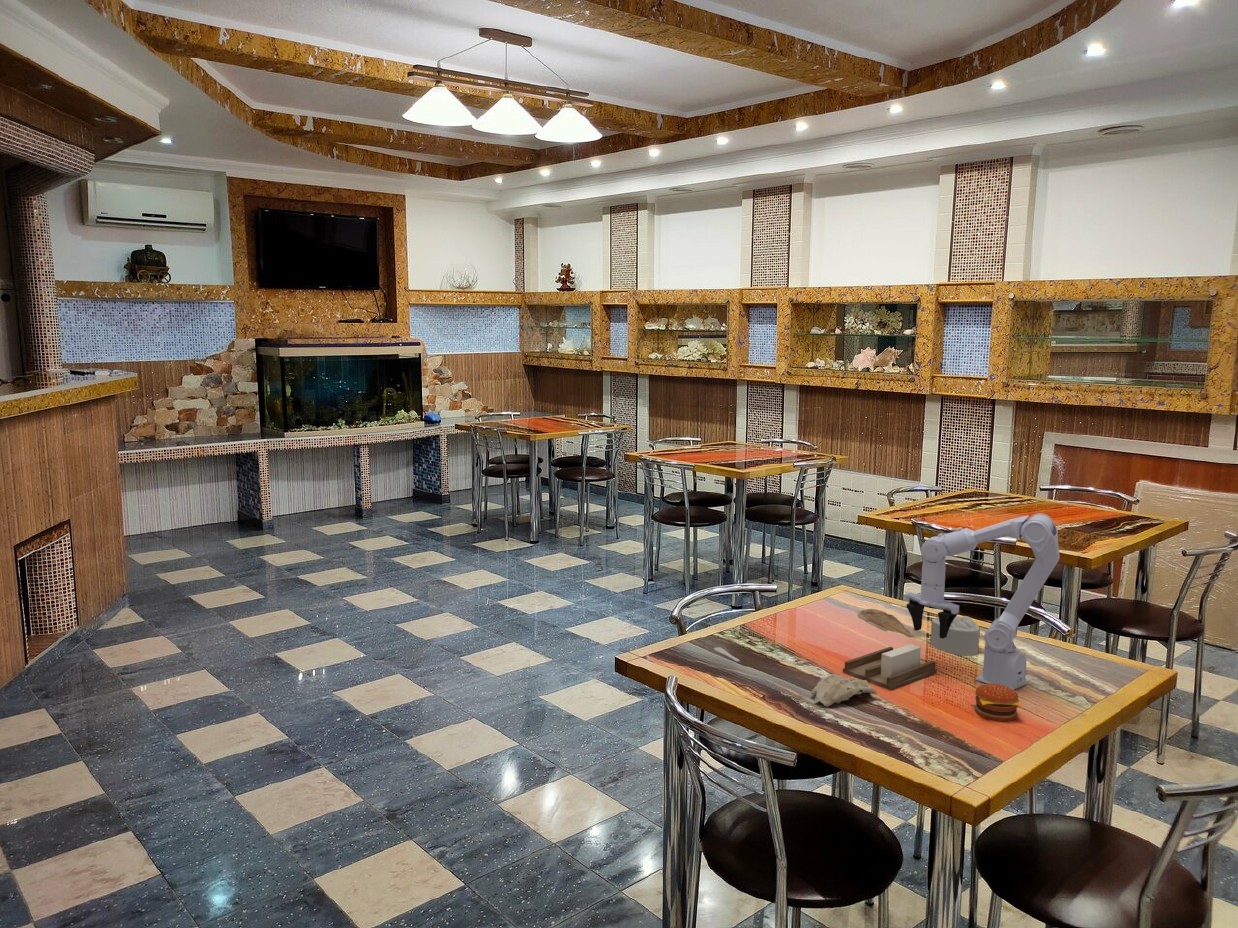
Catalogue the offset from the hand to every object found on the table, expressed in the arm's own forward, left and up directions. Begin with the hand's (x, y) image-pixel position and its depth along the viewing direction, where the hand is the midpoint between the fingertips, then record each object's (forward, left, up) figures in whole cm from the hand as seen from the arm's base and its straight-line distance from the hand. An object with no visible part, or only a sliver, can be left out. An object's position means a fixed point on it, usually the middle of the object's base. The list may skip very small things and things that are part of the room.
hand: (930, 633), depth 233 cm
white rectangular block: (+1, +11, -8) cm, 14 cm away
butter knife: (+33, +36, -10) cm, 50 cm away
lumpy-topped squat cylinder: (+4, -20, -10) cm, 22 cm away
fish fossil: (+29, -21, -10) cm, 37 cm away
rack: (+4, +11, -9) cm, 15 cm away
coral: (+2, +33, -10) cm, 35 cm away
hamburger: (-26, +12, -10) cm, 30 cm away
